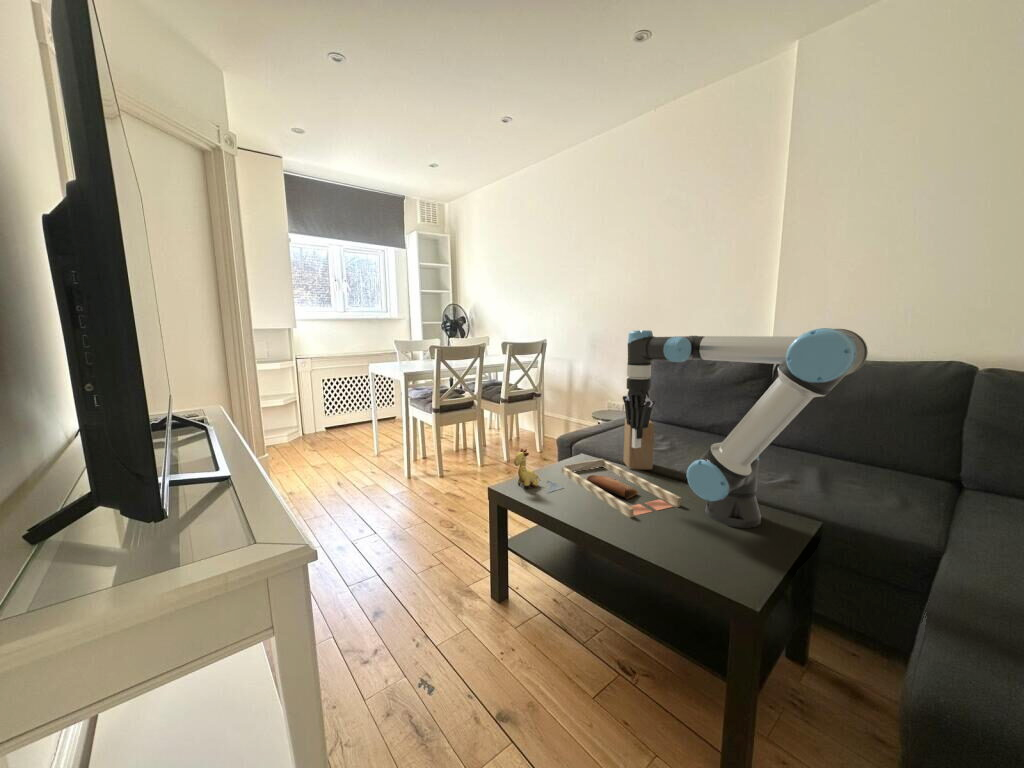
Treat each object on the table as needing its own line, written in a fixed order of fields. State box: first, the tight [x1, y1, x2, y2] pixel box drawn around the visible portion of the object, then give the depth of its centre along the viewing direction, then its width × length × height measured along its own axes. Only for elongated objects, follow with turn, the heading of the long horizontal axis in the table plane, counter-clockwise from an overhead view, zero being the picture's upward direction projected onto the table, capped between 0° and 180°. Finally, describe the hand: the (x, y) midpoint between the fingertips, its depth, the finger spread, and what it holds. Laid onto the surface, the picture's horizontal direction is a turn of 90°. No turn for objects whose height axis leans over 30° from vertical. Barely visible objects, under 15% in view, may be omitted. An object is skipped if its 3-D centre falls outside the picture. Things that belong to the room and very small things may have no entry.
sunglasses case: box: [586, 474, 640, 500], centre depth 145 cm, size 18×7×7 cm
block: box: [623, 418, 655, 471], centre depth 169 cm, size 10×10×20 cm
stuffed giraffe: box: [513, 447, 563, 494], centre depth 146 cm, size 16×18×16 cm
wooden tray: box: [561, 458, 682, 519], centre depth 146 cm, size 41×21×4 cm, turn 23°
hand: (636, 447), depth 135 cm, fingers closed
